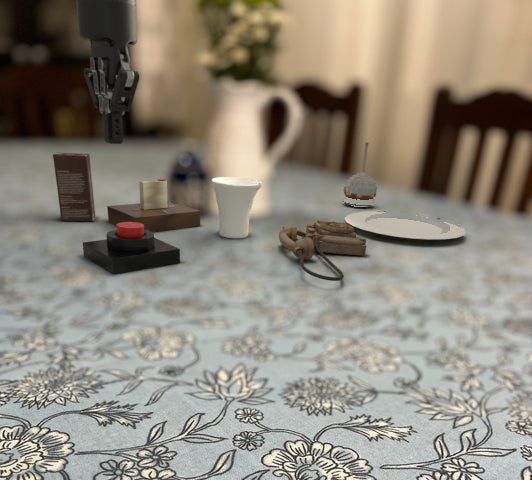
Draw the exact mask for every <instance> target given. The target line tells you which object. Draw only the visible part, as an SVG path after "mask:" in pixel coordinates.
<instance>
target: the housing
mask: <svg viewBox="0 0 532 480" xmlns="http://www.w3.org/2000/svg"><path fill="white" fill-rule="evenodd" d="M105 237H106V239H100V240H99V239H98V240H91V241H85V242H84V241H83V242H82V250H83V257H84V258H86V259H87V260H89V261H90V262H92V263H94V264H96V265H98V266H99V267H101V268H103V269H105V271H108V272H110V273H111V274H113V275H116V274H123V273H129V272H134V271H139V270H140V271H141V270H147V269H150V268H151V269H152V268H158V267H163V266H168V265H176V264H180V263H181V248H179V247H177V246H174V245H173V244H170V243H167V242H165V241H163V240H161V239H158V238H156V237H155V232H151V231H149V230H144V236H143V237H136V238H124V237H118V236H117V230H116V228H115V229H112V230H110V231H109V230H108V231H107V232H106V235H105Z"/></svg>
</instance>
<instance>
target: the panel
mask: <svg viewBox="0 0 532 480" xmlns="http://www.w3.org/2000/svg"><path fill="white" fill-rule="evenodd" d="M170 201H171V200H167V208H160V209H148V210H143V209H141V207H140V202H139V203H137V202H136V203H127V204H126V203H125V204H116V205H107V206H106V208H107V220H108V223H111V224H113V225H114V226H116V224H118V223H122V222H138V223H141V224H143V225H144V230H149V231H151V232H153V233H157V232H167V231H173V230H181V229H188V228H196V227H201V210H200V209H196V208H193V207H190V206H187V205H185V204H181V203H178V204H173V203H171V202H170ZM180 204H181V205H180Z"/></svg>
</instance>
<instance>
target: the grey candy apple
mask: <svg viewBox="0 0 532 480" xmlns="http://www.w3.org/2000/svg"><path fill="white" fill-rule="evenodd" d="M363 149H364V150H363V156H362V157H363V158H362V164H361V170H360V171H361V172H356V174H353V175H351V176H350V177H349V178H348V179H347V181H346V182H347V183H344V186H343V190H342V191H343V194H344V197H348V198H352V199H356V200H357V199H360V200H369V199H373V200H374V198H375V197H376V196H377V191H378V186H377V185H376V184H377V183H376V182H377V181H375V179H374V178H373V176H370V175H369V174H367V173H365V172H366V171H365V170H366V165H367V158H368V157H367V156H368V149H369V142H366V141H365V143H364V148H363ZM343 202H344V201H343V200H342V203H343ZM344 203H346V202H344ZM344 203H343V204H344ZM348 204H349V205H353V206H354V205H355V206H369V207H372V206H371V205H356V204H350V203H346V204H345V205H348ZM349 205H348V206H349Z"/></svg>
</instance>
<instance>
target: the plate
mask: <svg viewBox="0 0 532 480" xmlns="http://www.w3.org/2000/svg"><path fill="white" fill-rule="evenodd" d="M377 211H378V210H368V211H367V210H366V211H365V210H364V211H358V212H357V211H356V212H352V213H350V214H347V215H345V218H344V222H345V224H347V225H351V226H352V227H353V229H356V230H359V231H362V232H365V233H368V234H371V235H374V236H376V237H377V236H378V237H381V238H387V239H391V240H397V241H406V242H418V243H419V242H420V243H421V242H426V243H427V242H428V243H429V242H445V241H453V240H452V239H454V240H457V238H458V239H460V238H459V237H461V238H463V237H462V236H464V235H465V233H466V232H467V230H466V231H465V229H466V228H465V227H463V226H462V227H463V228H462V227H458V226H456V225H453V224H450V223H447V222H444V223H446V224H448V225H449V226H450V231H448V232H447V233H443V234H440V233H441V232H442V229H441V228H439V227H437V226H435V225H432V224H428V223H424V222H420V221H414V220H408V219H397V218H377V219H371V220H369V221H367V223H366V222H365V219H366V218H367V217H370V216H371V215H375V214H382V213H385V212H377ZM416 216H417V215H416ZM422 217H423V216H422ZM426 218H428V217H426ZM464 228H465V229H464ZM465 236H466V235H465ZM465 236H464V237H465ZM444 240H445V241H444Z"/></svg>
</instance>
